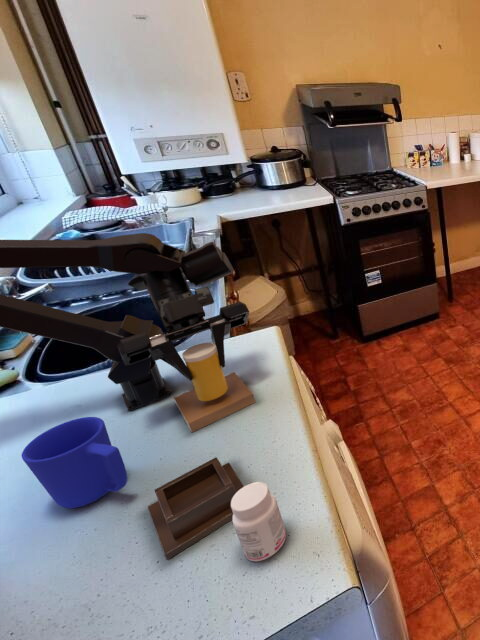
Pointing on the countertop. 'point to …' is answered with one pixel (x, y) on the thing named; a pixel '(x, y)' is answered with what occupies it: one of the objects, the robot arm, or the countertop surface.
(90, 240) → the robot arm
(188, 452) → the countertop surface
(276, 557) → the countertop surface
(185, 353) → the yellow canister
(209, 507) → the stand
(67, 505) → the mug
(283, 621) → the countertop surface
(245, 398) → the wooden pad
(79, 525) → the countertop surface
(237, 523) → the pill bottle
